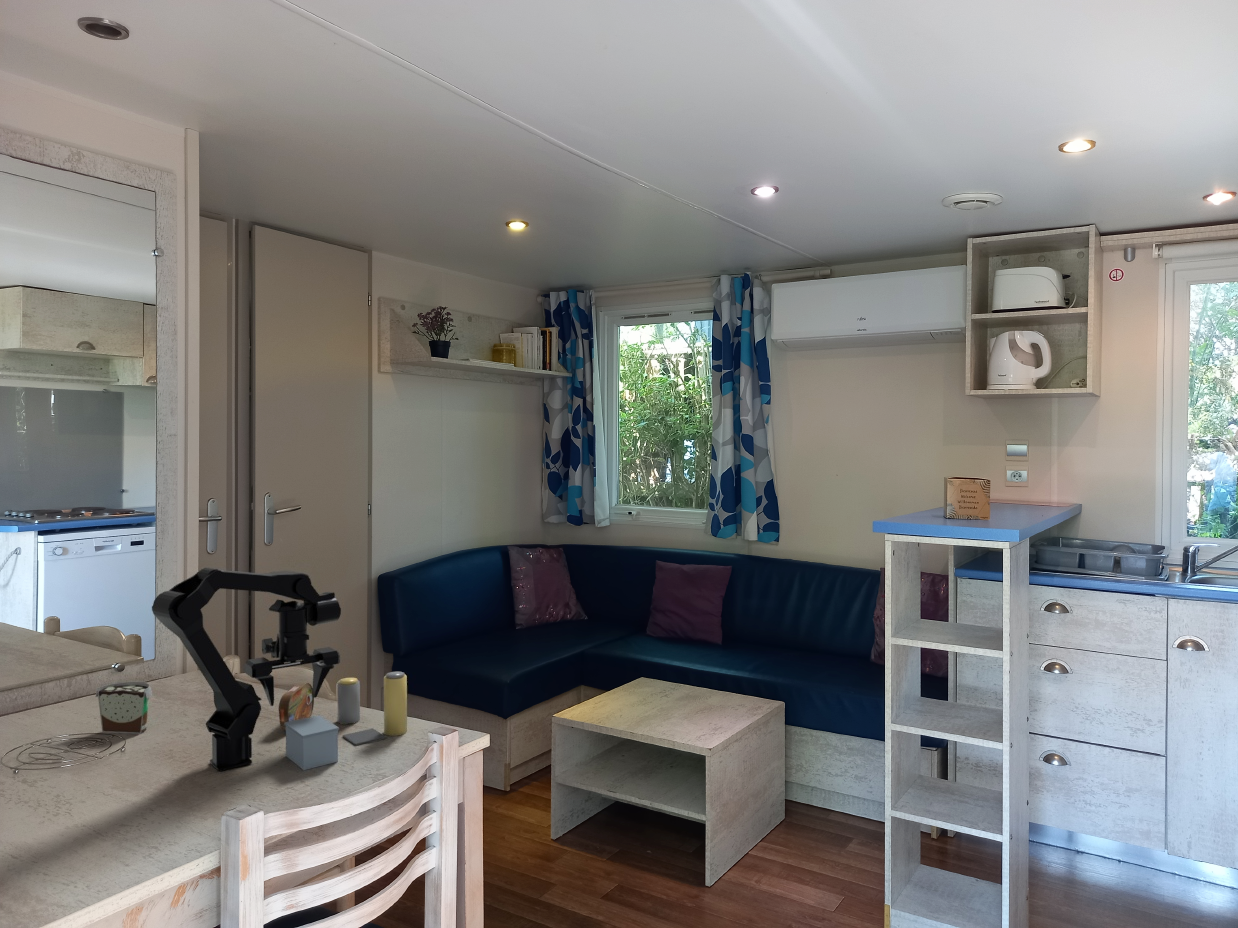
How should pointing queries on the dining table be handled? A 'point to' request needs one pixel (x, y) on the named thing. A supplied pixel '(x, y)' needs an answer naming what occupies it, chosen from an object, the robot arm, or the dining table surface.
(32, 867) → the dining table surface
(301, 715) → the tin
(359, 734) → the pad
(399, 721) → the cylinder
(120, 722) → the food container
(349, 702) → the cylinder
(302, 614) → the robot arm
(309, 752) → the block
